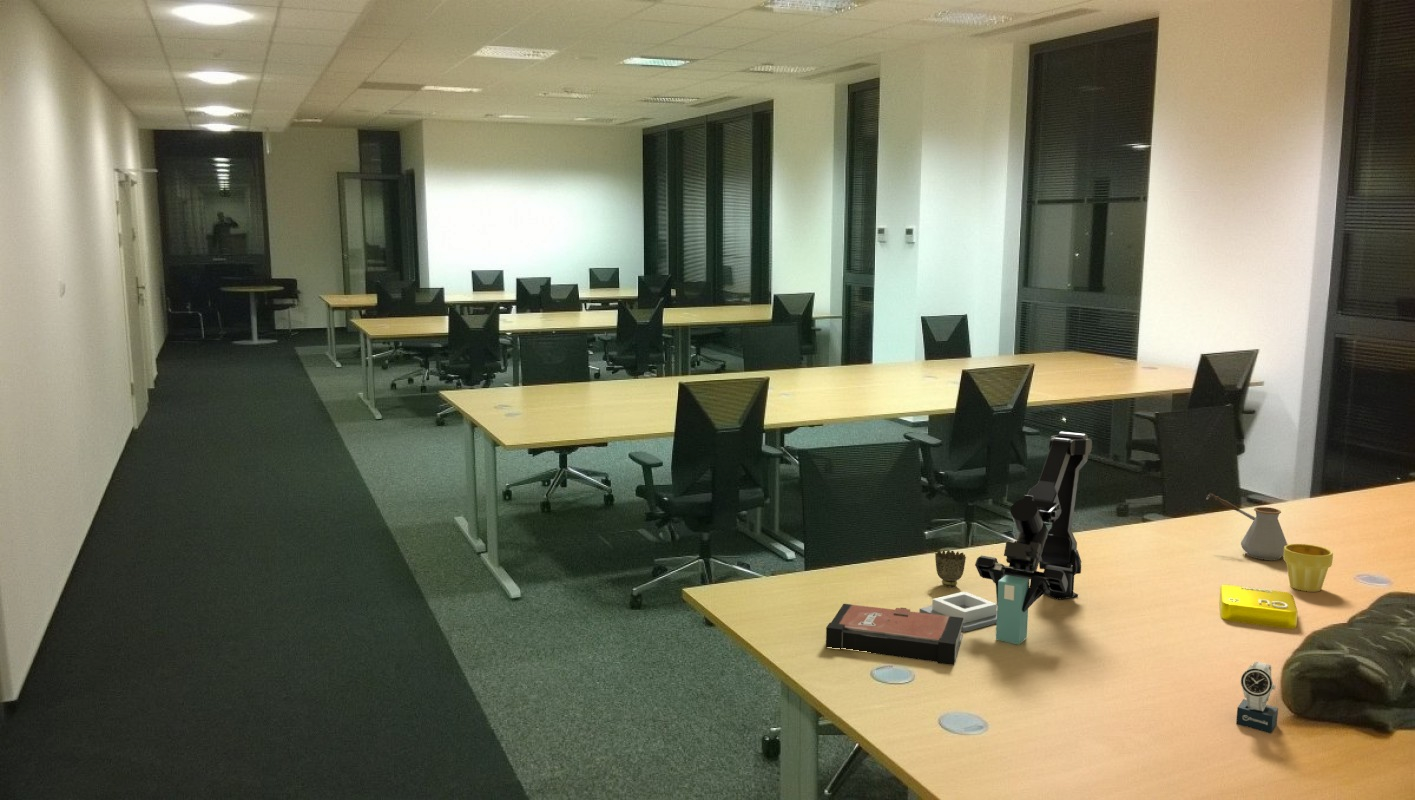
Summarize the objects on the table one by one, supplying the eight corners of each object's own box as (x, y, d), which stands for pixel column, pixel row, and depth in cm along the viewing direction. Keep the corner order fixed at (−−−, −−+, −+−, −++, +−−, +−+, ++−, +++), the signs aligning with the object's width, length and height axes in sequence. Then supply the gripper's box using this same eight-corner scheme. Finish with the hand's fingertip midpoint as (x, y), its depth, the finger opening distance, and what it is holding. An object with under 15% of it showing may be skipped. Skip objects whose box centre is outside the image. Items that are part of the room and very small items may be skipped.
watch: (1233, 728, 178) (1238, 668, 176) (1244, 712, 184) (1249, 653, 183) (1269, 737, 175) (1274, 676, 173) (1279, 721, 181) (1284, 661, 179)
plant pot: (1283, 591, 248) (1287, 552, 247) (1278, 579, 258) (1281, 541, 257) (1333, 597, 245) (1336, 557, 243) (1325, 584, 254) (1329, 545, 253)
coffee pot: (1293, 556, 277) (1298, 502, 275) (1280, 565, 269) (1285, 509, 267) (1210, 540, 292) (1214, 489, 290) (1195, 548, 284) (1199, 496, 282)
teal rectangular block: (1003, 632, 222) (1006, 574, 220) (1026, 637, 219) (1029, 578, 218) (995, 640, 218) (997, 581, 216) (1018, 645, 215) (1021, 585, 213)
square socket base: (963, 601, 242) (964, 587, 241) (1009, 620, 230) (1010, 605, 229) (919, 612, 234) (919, 597, 234) (964, 632, 223) (964, 616, 222)
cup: (965, 591, 249) (966, 559, 248) (934, 589, 250) (935, 557, 249) (964, 581, 256) (965, 550, 255) (933, 579, 258) (935, 549, 256)
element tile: (1291, 610, 237) (1292, 590, 236) (1296, 632, 224) (1298, 610, 223) (1218, 600, 243) (1220, 581, 243) (1220, 621, 230) (1221, 601, 229)
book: (963, 636, 221) (964, 614, 221) (953, 667, 205) (954, 643, 204) (843, 621, 230) (844, 600, 229) (825, 650, 214) (826, 627, 213)
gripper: (979, 519, 224) (959, 581, 217) (1066, 533, 213) (1048, 598, 206) (991, 545, 231) (971, 606, 224) (1075, 560, 221) (1057, 624, 213)
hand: (1010, 608), depth 217 cm, fingers closed on teal rectangular block, 5 cm apart
